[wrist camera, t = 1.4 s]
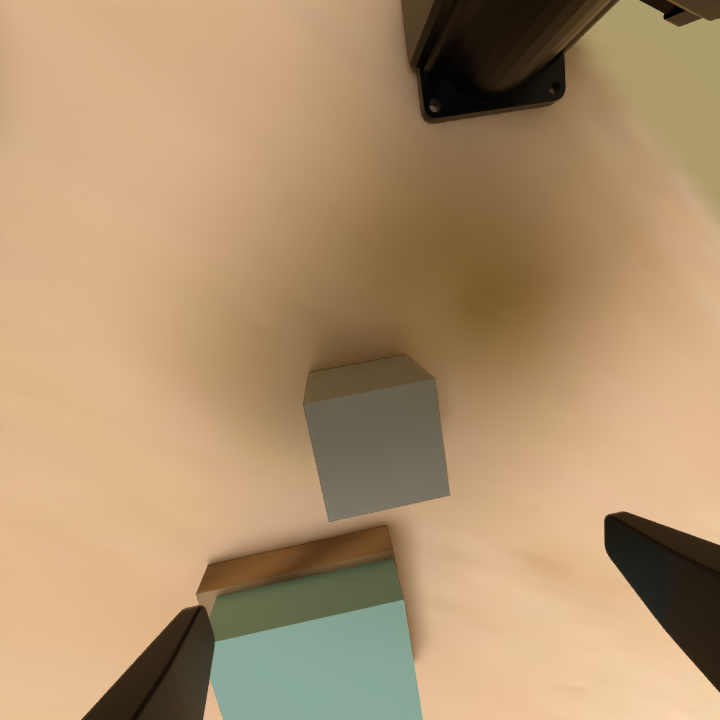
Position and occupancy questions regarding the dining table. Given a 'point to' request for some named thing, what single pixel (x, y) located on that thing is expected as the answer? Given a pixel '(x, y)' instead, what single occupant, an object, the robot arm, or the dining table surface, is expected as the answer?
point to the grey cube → (375, 436)
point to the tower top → (316, 649)
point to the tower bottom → (294, 563)
